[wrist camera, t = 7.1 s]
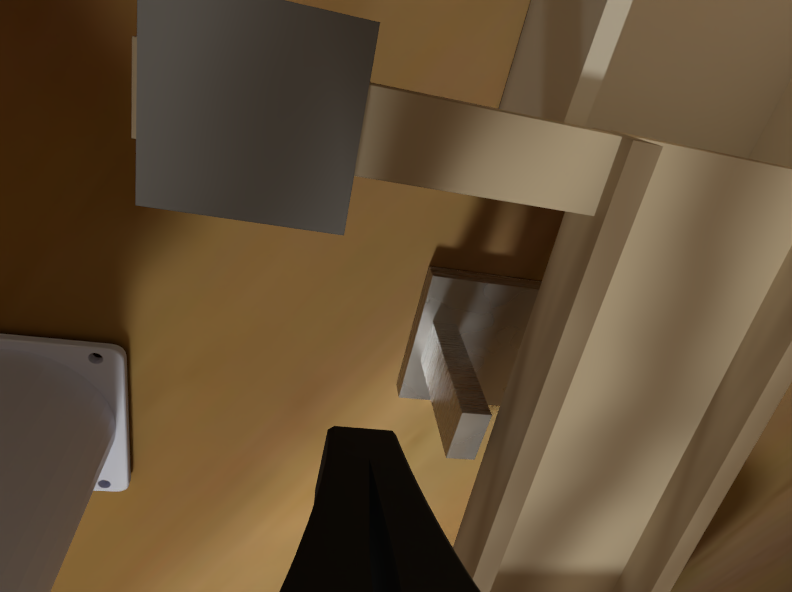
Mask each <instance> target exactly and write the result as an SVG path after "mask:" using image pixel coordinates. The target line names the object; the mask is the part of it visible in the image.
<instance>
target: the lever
mask: <svg viewBox="0 0 792 592" xmlns="http://www.w3.org/2000/svg"><path fill="white" fill-rule="evenodd" d="M379 25H380V22H376V21H371V20H367V19H363V18H359V17H354V16H350V15H346V14H341V13H337V12H333V11H328V10H324V9H320V8H315V7H311V6H307V5H302V4H298V3H294V2H289V1H285V0H137V36H132V131H131V138H133V139H136V205H137V206H144V207H151V208H158V209H165V210H172V211H178V212H185V213H192V214H199V215H206V216H213V217H220V218H227V219H234V220H241V221H248V222H255V223H262V224H269V225H275V226H282V227H289V228H296V229H303V230H310V231H317V232H324V233H331V234H338V235H344V231H345V225H346V219H347V214H348V208H349V202H350V196H351V190H352V184H353V178H354V176H359V177H365V178H371V179H376V180H382V181H388V182H394V183H400V184H406V185H412V186H418V187H424V188H430V189H436V190H442V191H448V192H454V193H460V194H465V195H471V196H477V197H483V198H489V199H495V200H501V201H507V202H513V203H519V204H525V205H531V206H537V207H543V208H549V209H555V210H560V211H565V214H564V217H563V220H562V223H561V226H560V229H559V232H558V235H557V238H556V241H555V244H554V247H553V250H552V253H551V256H550V259H549V262H548V265H547V268H546V271H545V274H544V277H543V280H542V283H541V286H540V289H539V292H538V295H537V298H536V300H535V303H534V306H533V309H532V312H531V315H530V318H529V321H528V324H527V327H526V330H525V333H524V336H523V339H522V342H521V345H520V348H519V351H518V354H517V357H516V360H515V363H514V366H513V369H512V372H511V375H510V378H509V381H508V384H507V387H506V390H505V393H504V396H503V399H502V402H501V405H500V408H499V411H498V414H497V417H496V420H495V423H494V426H493V429H492V432H491V435H490V438H489V441H488V444H487V447H486V450H485V453H484V456H483V459H482V462H481V465H480V468H479V471H478V474H477V477H476V480H475V483H474V486H473V489H472V492H471V495H470V498H469V501H468V504H467V507H466V510H465V513H464V516H463V519H462V522H461V525H460V528H459V531H458V534H457V537H456V540H455V543H454V546H453V549H454V551H455V552H456V554H457V556H458V557H459V559H460V561H461V562H462V564H463V565H464V567H465V569H466V570H467V572H468V573H469V575H470V576H471V578H472V579H473V581H474V582H475V584H476V585H477V587H478V588H479V590H480V591H481V592H670V590H671V589H672V587H673V585H674V584H675V582H676V580H677V578H678V577H679V575H680V573H681V571H682V570H683V568H684V566H685V565H686V563H687V561H688V559H689V558H690V556H691V554H692V552H693V551H694V549H695V547H696V546H697V544H698V542H699V540H700V539H701V537H702V535H703V533H704V532H705V530H706V528H707V527H708V525H709V523H710V521H711V520H712V518H713V516H714V515H715V513H716V511H717V509H718V508H719V506H720V504H721V502H722V501H723V499H724V497H725V496H726V494H727V492H728V490H729V489H730V487H731V485H732V483H733V482H734V480H735V478H736V477H737V475H738V473H739V471H740V470H741V468H742V466H743V465H744V463H745V461H746V459H747V458H748V456H749V454H750V452H751V451H752V449H753V447H754V446H755V444H756V442H757V440H758V439H759V437H760V435H761V433H762V432H763V430H764V428H765V427H766V425H767V423H768V421H769V420H770V418H771V416H772V414H773V413H774V411H775V409H776V408H777V406H778V404H779V402H780V401H781V399H782V397H783V396H784V394H785V392H786V390H787V389H788V387H789V385H790V383H791V382H792V167H787V166H782V165H777V164H772V163H767V162H763V161H758V160H753V159H748V158H743V157H739V156H734V155H729V154H724V153H719V152H714V151H710V150H705V149H700V148H695V147H690V146H686V145H681V144H676V143H671V142H666V141H661V140H657V139H652V138H647V137H642V136H637V135H633V134H628V133H623V132H618V131H613V130H611V131H608V130H604V129H599V128H594V127H593V128H589V127H584V126H579V125H574V124H569V123H564V122H560V121H555V120H550V119H545V118H540V117H535V116H531V115H526V114H521V113H516V112H511V111H506V110H502V109H497V108H492V107H487V106H482V105H477V104H473V103H468V102H463V101H458V100H453V99H448V98H444V97H439V96H434V95H429V94H424V93H419V92H414V91H410V90H405V89H400V88H395V87H390V86H385V85H381V84H376V83H371V82H370V78H371V72H372V66H373V60H374V54H375V49H376V43H377V37H378V31H379Z"/></svg>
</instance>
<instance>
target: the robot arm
mask: <svg viewBox="0 0 792 592" xmlns="http://www.w3.org/2000/svg"><path fill="white" fill-rule="evenodd" d="M92 353H97V354H100V355H101V356H102V358H98V357H95V356H94V355H93V354H92ZM105 480H107V481H105ZM130 480H131V470H130V441H129V412H128V384H127V355H126V352H125V351H124V349H123V348H122V347H120V346H118V345H115V344H108V343H97V342H87V341H76V340H65V339H54V338H44V337H33V336H22V335H12V334H1V333H0V592H50V591H51V589H52V586H53V584H54V582H55V579H56V577H57V575H58V572H59V570H60V568H61V565H62V563H63V561H64V558H65V556H66V553H67V551H68V549H69V546H70V544H71V542H72V539H73V537H74V535H75V532H76V530H77V528H78V525H79V523H80V521H81V518H82V516H83V513H84V511H85V509H86V506H87V504H88V502H89V499H90V497H91V495H92V492H93V490H94V491H123V490H125V489H127V488H128V486H129V483H130ZM280 592H481V591H480V590H479V588H478V587H477V585H476V584H475V582H474V581H473V579H472V578H471V576H470V575H469V573H468V572H467V570H466V569H465V567H464V565H463V564H462V562H461V561H460V559H459V557H458V556H457V554H456V552H455V551H454V549H453V547H452V546H451V544H450V543H449V541H448V539H447V537H446V536H445V534H444V532H443V530H442V529H441V527H440V525H439V523H438V521H437V520H436V518H435V516H434V514H433V512H432V510H431V508H430V507H429V505H428V503H427V501H426V499H425V497H424V495H423V493H422V491H421V489H420V487H419V485H418V483H417V481H416V479H415V477H414V475H413V473H412V471H411V469H410V466H409V464H408V462H407V460H406V458H405V455H404V453H403V451H402V448H401V446H400V444H399V441H398V439H397V436H396V435H395V433H394V432H393V431H389V430H376V429H364V428H352V427H340V426H333V427H332V428H330V429H328V431H327V436H326V441H325V445H324V450H323V455H322V460H321V465H320V469H319V474H318V479H317V484H316V489H315V500H314V506H313V509H312V512H311V515H310V518H309V521H308V524H307V526H306V529H305V531H304V534H303V537H302V539H301V542H300V544H299V547H298V550H297V552H296V555H295V557H294V560H293V562H292V564H291V567H290V569H289V572H288V574H287V576H286V578H285V581H284V583H283V585H282V587H281V590H280Z"/></svg>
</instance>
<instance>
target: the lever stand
mask: <svg viewBox="0 0 792 592" xmlns="http://www.w3.org/2000/svg"><path fill="white" fill-rule="evenodd" d="M541 283H542V281H535V280H528V279H520V278H513V277H506V276H498V275H491V274H484V273H477V272H469V271H462V270H455V269H447V268H440V267H433V266H429V268H428V272H427V275H426V279H425V283H424V286H423V290H422V294H421V297H420V301H419V305H418V308H417V312H416V316H415V319H414V323H413V327H412V330H411V334H410V337H409V341H408V345H407V348H406V352H405V356H404V359H403V363H402V367H401V370H400V374H399V378H398V381H397V391H398V396H399V397H401V398H413V399H426V400H431V402H432V406H433V410H434V414H435V418H436V421H437V425H438V429H439V433H440V437H441V441H442V444H443V448H444V452H445V456H446V458H457V459H475V457H476V454H477V452H478V449H479V446H480V444H481V441H482V439H483V436H484V434H485V431H486V429H487V426H488V424H489V421H490V419H491V416H492V414H491V412H490V409H489V407H488V405H498V406H500V405H501V402H502V399H503V396H504V393H505V390H506V387H507V384H508V381H509V378H510V375H511V372H512V369H513V366H514V363H515V360H516V357H517V354H518V351H519V348H520V345H521V342H522V339H523V336H524V333H525V330H526V327H527V324H528V321H529V318H530V315H531V312H532V309H533V306H534V303H535V300H536V298H537V295H538V292H539V289H540V286H541Z"/></svg>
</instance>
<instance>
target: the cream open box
mask: <svg viewBox="0 0 792 592" xmlns="http://www.w3.org/2000/svg"><path fill="white" fill-rule="evenodd" d="M499 109H502V110H506V111H511V112H516V113H521V114H526V115H531V116H535V117H540V118H545V119H550V120H555V121H560V122H564V123H569V124H574V125H579V126H584V127H589V128H593V127H594V128H599V129H604V130H608V131H611V130H613V131H618V132H623V133H628V134H633V135H637V136H642V137H647V138H652V139H657V140H661V141H666V142H671V143H676V144H681V145H686V146H690V147H695V148H700V149H705V150H710V151H714V152H719V153H724V154H729V155H734V156H739V157H743V158H748V159H753V160H758V161H763V162H767V163H772V164H777V165H782V166H787V167H792V0H531V2H530V5H529V9H528V12H527V15H526V19H525V22H524V25H523V29H522V32H521V36H520V39H519V42H518V46H517V49H516V52H515V56H514V59H513V62H512V66H511V69H510V73H509V76H508V79H507V83H506V86H505V89H504V93H503V96H502V99H501V103H500V106H499Z"/></svg>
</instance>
